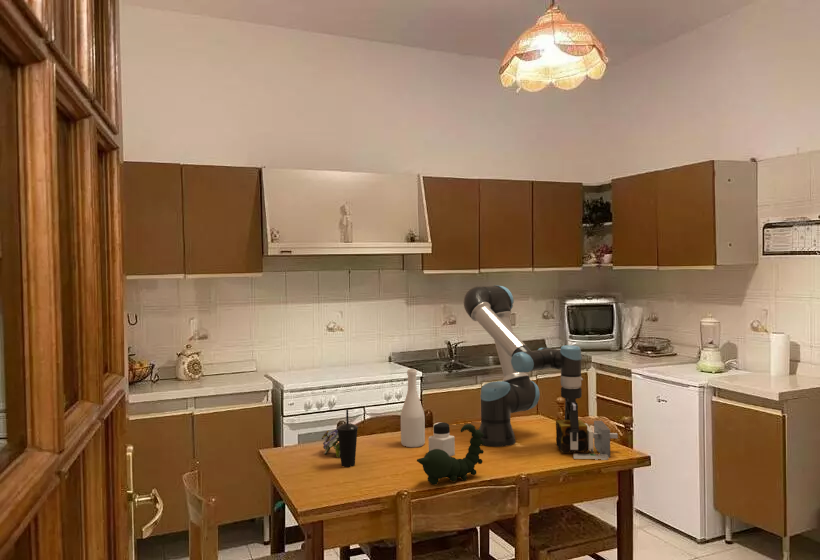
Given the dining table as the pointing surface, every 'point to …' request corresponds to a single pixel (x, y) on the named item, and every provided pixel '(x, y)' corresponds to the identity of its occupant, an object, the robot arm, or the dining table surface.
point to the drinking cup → (347, 442)
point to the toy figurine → (453, 460)
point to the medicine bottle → (442, 439)
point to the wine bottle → (412, 415)
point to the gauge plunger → (595, 435)
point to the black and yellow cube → (564, 436)
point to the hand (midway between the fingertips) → (571, 445)
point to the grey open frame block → (599, 443)
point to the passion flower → (331, 442)
